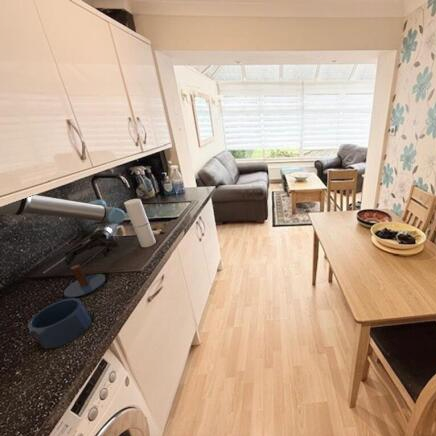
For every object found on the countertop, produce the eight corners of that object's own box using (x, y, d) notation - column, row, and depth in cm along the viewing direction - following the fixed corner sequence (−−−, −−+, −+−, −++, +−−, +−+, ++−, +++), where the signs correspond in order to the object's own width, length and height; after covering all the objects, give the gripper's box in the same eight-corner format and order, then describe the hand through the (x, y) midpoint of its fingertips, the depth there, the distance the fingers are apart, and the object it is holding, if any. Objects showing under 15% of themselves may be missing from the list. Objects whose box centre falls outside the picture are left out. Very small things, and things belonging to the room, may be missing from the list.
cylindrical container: (139, 249, 124) (121, 205, 113) (144, 242, 130) (127, 199, 120) (153, 246, 125) (137, 202, 114) (157, 240, 132) (142, 198, 121)
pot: (36, 357, 71) (20, 337, 67) (48, 327, 81) (35, 309, 77) (88, 336, 76) (76, 316, 73) (94, 310, 86) (83, 293, 83)
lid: (61, 304, 90) (47, 283, 85) (69, 284, 100) (57, 264, 96) (104, 289, 96) (93, 269, 91) (107, 272, 106) (98, 253, 102)
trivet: (65, 303, 91) (64, 302, 91) (71, 285, 100) (70, 284, 100) (102, 290, 96) (102, 289, 96) (105, 274, 106) (105, 273, 105)
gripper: (132, 236, 126) (122, 257, 108) (75, 248, 119) (55, 273, 101) (126, 224, 123) (116, 243, 105) (68, 235, 115) (45, 258, 97)
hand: (86, 258), depth 103 cm, fingers open, 13 cm apart
